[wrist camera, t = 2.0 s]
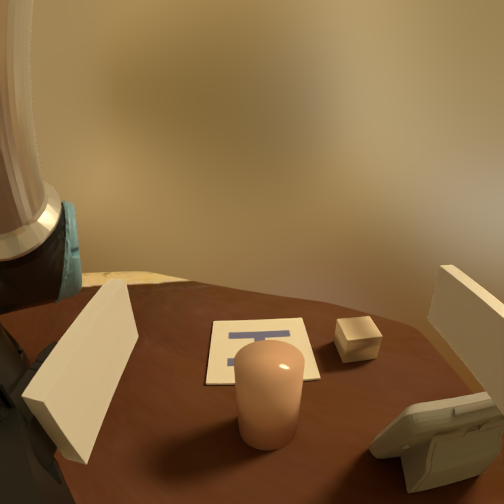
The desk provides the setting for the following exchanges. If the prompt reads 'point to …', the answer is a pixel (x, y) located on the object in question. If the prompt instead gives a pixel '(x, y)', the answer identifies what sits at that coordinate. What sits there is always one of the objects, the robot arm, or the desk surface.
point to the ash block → (357, 339)
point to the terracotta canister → (268, 392)
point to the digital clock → (443, 440)
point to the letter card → (248, 331)
